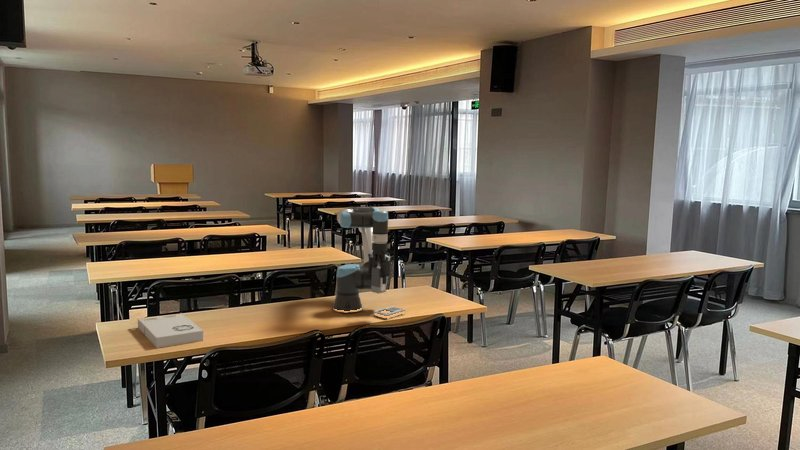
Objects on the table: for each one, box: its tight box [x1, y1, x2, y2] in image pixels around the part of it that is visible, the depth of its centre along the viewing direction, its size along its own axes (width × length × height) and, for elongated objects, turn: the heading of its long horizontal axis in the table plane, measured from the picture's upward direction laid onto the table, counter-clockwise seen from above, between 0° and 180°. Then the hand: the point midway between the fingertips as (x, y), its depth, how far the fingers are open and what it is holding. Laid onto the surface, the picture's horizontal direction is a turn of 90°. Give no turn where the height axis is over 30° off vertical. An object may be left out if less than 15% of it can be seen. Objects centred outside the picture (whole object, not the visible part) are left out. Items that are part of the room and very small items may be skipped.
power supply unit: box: [137, 312, 204, 349], centre depth 253 cm, size 19×33×5 cm, turn 36°
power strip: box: [373, 305, 406, 316], centre depth 293 cm, size 9×14×3 cm, turn 140°
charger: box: [370, 266, 387, 294], centre depth 284 cm, size 5×5×12 cm
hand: (378, 289), depth 285 cm, fingers closed on charger, 5 cm apart
